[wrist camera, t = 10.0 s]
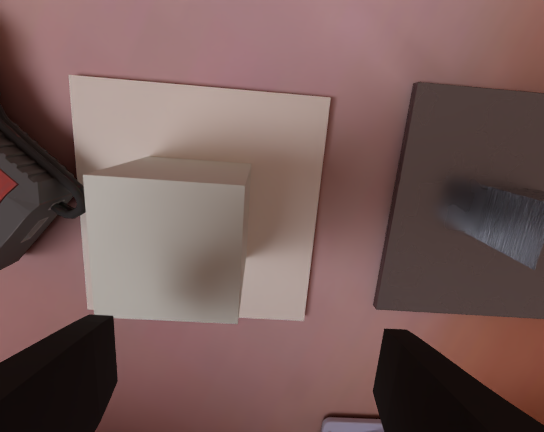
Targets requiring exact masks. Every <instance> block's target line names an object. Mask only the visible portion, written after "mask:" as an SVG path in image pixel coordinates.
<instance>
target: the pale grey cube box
mask: <svg viewBox="0 0 544 432" xmlns="http://www.w3.org/2000/svg"><path fill="white" fill-rule="evenodd" d="M250 182H251V164H250V163H236V162H222V161H207V160H193V159H179V158H165V157H151V156H148V157H144V158H141V159H137V160H133V161H130V162H126V163H123V164H119V165H116V166H112V167H108V168H105V169H101V170H98V171H94V172H91V173H87V174H83V184H84V196H85V209H86V221H87V233H88V245H89V257H90V270H91V282H92V294H93V306H94V315H110V316H113V318H123V319H144V320H164V321H185V322H205V323H226V324H238V319H239V311H240V303H241V295H242V287H243V279H244V271H245V263H246V253H247V235H248V217H249V199H250Z"/></svg>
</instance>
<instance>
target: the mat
mask: <svg viewBox="0 0 544 432" xmlns="http://www.w3.org/2000/svg"><path fill="white" fill-rule="evenodd" d="M69 87H70V99H71V111H72V124H73V136H74V148H75V160H76V173H77V181H79V182H80V183H81V184H82V185H83V186H84V184H83V174H87V173H91V172H94V171H98V170H101V169H105V168H108V167H112V166H116V165H119V164H123V163H126V162H130V161H133V160H137V159H141V158H144V157H148V156H151V157H165V158H179V159H193V160H207V161H222V162H236V163H250V164H251V182H250V199H249V217H248V235H247V253H246V263H245V271H244V279H243V287H242V295H241V303H240V311H239V318H256V319H275V320H293V321H304V316H305V308H306V300H307V291H308V283H309V275H310V266H311V258H312V250H313V241H314V233H315V225H316V216H317V208H318V199H319V191H320V183H321V174H322V166H323V158H324V149H325V141H326V133H327V124H328V116H329V108H330V99H331V97H320V96H308V95H297V94H285V93H273V92H262V91H250V90H239V89H227V88H216V87H204V86H193V85H181V84H170V83H158V82H146V81H135V80H123V79H112V78H100V77H89V76H77V75H69ZM80 222H81V234H82V246H83V259H84V271H85V283H86V295H87V308H88V309H91V310H94V306H93V294H92V282H91V270H90V257H89V245H88V233H87V221H86V212H85V213H84V214H82V215H80Z"/></svg>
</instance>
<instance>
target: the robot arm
mask: <svg viewBox="0 0 544 432" xmlns="http://www.w3.org/2000/svg"><path fill="white" fill-rule="evenodd" d="M116 384H117V365H116V350H115V335H114V319H113V316H110V315H87V316H85V317H83V318H81V319H79V320H77V321H75V322H73V323H71V324H69V325H68V326H66V327H64V328H62V329H60V330H58V331H57V332H55V333H53V334H51V335H49V336H48V337H46V338H44V339H42V340H41V341H39V342H37V343H35V344H33V345H31V346H30V347H28V348H26V349H24V350H22V351H21V352H19V353H17V354H15V355H13V356H11V357H10V358H8V359H6V360H4V361H2V362H1V363H0V432H95V430H96V428H97V426H98V425H99V423H100V421H101V419H102V416H103V414H104V412H105V410H106V407H107V405H108V403H109V400H110V398H111V396H112V393H113V391H114V388H115V386H116ZM373 394H374V397H375V401H376V405H377V409H378V412H379V416H380V419H363V418H338V417H328V418H326V419H324V420H323V422H322V428H321V432H329V431H331V432H544V425H543V424H541V423H540V422H538V421H536V420H535V419H533V418H532V417H530V416H529V415H527V414H526V413H524V412H523V411H521V410H520V409H518V408H517V407H515V406H514V405H512V404H511V403H509V402H508V401H506V400H505V399H503V398H502V397H501V396H499V395H498V394H496V393H495V392H493V391H492V390H490V389H489V388H488V387H486V386H485V385H483V384H482V383H481V382H479V381H478V380H476V379H475V378H474V377H472V376H471V375H469V374H468V373H467V372H465V371H464V370H463V369H461V368H460V367H458V366H457V365H456V364H454V363H453V362H452V361H450V360H449V359H448V358H446V357H445V356H443V355H442V354H441V353H439V352H438V351H437V350H435V349H434V348H433V347H431V346H430V345H428V344H427V343H426V342H424V341H423V340H421V339H420V338H419V337H417V336H416V335H414V334H413V333H411V332H409V331H408V330H402V329H384V333H383V339H382V344H381V350H380V355H379V361H378V366H377V372H376V377H375V382H374V388H373Z"/></svg>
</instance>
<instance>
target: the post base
mask: <svg viewBox="0 0 544 432" xmlns="http://www.w3.org/2000/svg"><path fill="white" fill-rule="evenodd" d="M373 305H374V307H375V309H377V310H395V311H413V312H430V313H448V314H466V315H483V316H501V317H519V318H536V319H544V93H533V92H522V91H511V90H500V89H489V88H478V87H467V86H455V85H444V84H433V83H422V82H417V83H413V88H412V94H411V99H410V105H409V110H408V116H407V121H406V127H405V132H404V138H403V143H402V149H401V154H400V160H399V165H398V171H397V176H396V182H395V187H394V193H393V198H392V204H391V209H390V215H389V220H388V226H387V231H386V237H385V242H384V248H383V253H382V259H381V264H380V270H379V275H378V281H377V286H376V292H375V297H374V303H373Z"/></svg>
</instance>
